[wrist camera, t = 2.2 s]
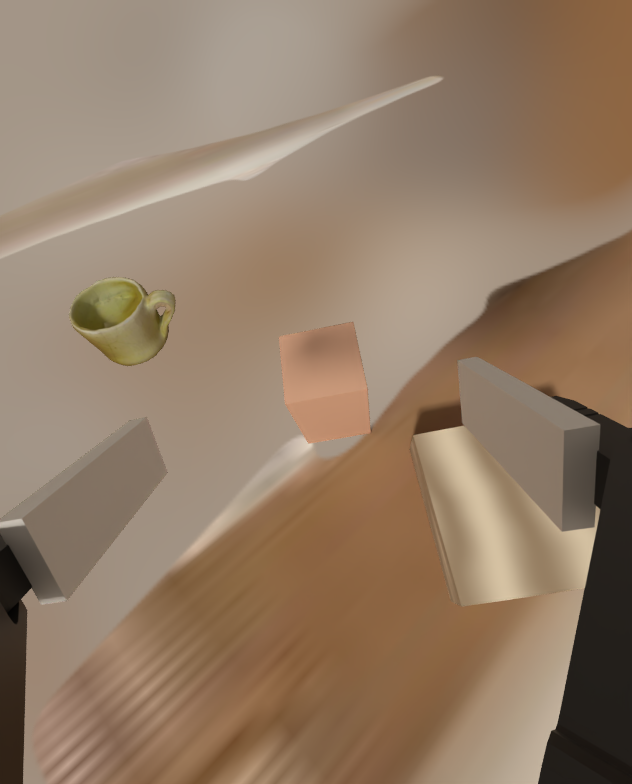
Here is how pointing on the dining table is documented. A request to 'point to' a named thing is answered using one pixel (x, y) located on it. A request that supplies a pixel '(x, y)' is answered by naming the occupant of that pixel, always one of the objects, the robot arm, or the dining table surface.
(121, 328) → the mug
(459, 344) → the dining table surface
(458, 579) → the ash block
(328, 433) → the terracotta block
